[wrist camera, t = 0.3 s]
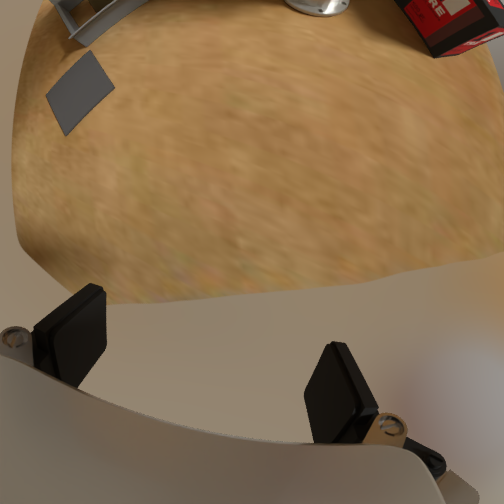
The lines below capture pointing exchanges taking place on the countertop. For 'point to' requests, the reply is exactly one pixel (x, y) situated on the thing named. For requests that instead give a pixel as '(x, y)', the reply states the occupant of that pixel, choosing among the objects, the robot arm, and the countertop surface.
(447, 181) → the countertop surface
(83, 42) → the carton
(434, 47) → the cleaning product box
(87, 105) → the rubber mat
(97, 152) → the countertop surface
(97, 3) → the cork
